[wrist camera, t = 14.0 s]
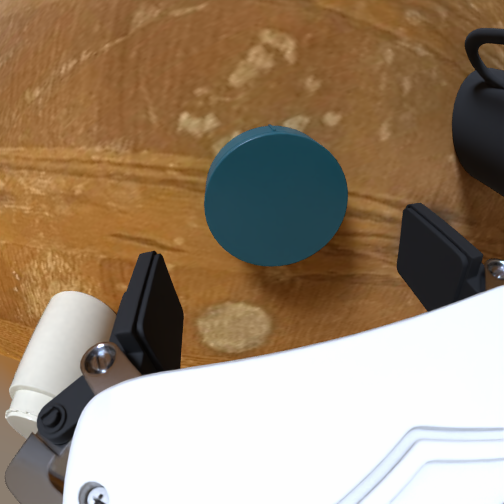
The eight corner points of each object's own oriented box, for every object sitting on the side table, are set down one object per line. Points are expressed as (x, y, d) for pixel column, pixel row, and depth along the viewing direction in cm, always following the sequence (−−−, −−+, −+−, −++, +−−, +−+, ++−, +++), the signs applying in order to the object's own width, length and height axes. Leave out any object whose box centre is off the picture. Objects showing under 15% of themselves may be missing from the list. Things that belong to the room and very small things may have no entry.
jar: (130, 309, 19) (102, 442, 11) (117, 359, 22) (98, 468, 14) (48, 278, 17) (-11, 396, 9) (48, 334, 20) (12, 435, 12)
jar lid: (198, 130, 14) (194, 138, 12) (335, 122, 14) (352, 130, 12) (214, 251, 17) (214, 273, 16) (330, 239, 18) (342, 258, 16)
